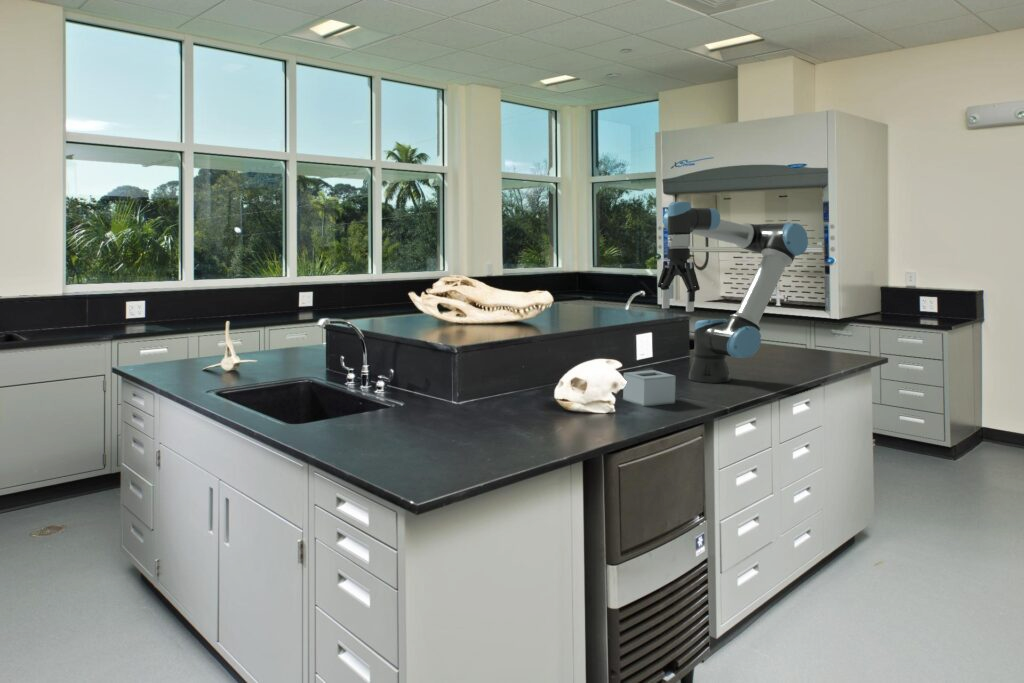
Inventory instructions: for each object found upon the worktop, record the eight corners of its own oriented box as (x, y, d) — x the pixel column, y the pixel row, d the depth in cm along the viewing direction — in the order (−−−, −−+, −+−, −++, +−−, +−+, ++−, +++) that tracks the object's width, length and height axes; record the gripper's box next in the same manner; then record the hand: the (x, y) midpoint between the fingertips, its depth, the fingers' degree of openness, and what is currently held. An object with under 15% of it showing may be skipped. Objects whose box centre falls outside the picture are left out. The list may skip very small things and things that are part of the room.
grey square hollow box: (653, 396, 255) (653, 370, 254) (674, 403, 245) (675, 375, 243) (623, 399, 250) (623, 372, 249) (643, 406, 240) (644, 378, 238)
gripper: (648, 247, 267) (647, 307, 270) (692, 248, 244) (691, 313, 247) (665, 247, 270) (664, 306, 273) (711, 247, 247) (709, 312, 250)
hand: (677, 309), depth 260 cm, fingers open, 13 cm apart
